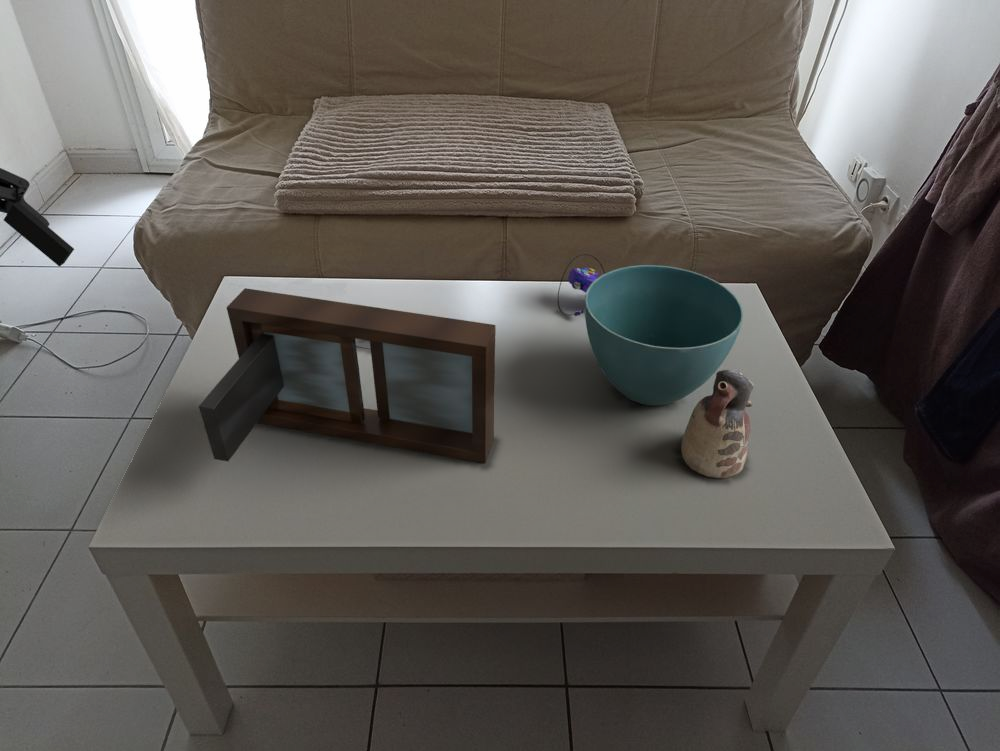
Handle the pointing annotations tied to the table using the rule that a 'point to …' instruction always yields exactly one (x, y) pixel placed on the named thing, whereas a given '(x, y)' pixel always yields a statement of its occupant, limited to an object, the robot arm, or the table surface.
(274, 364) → the sliding pane
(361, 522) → the table surface
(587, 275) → the game controller
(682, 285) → the teal bowl
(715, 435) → the figurine
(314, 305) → the window frame
